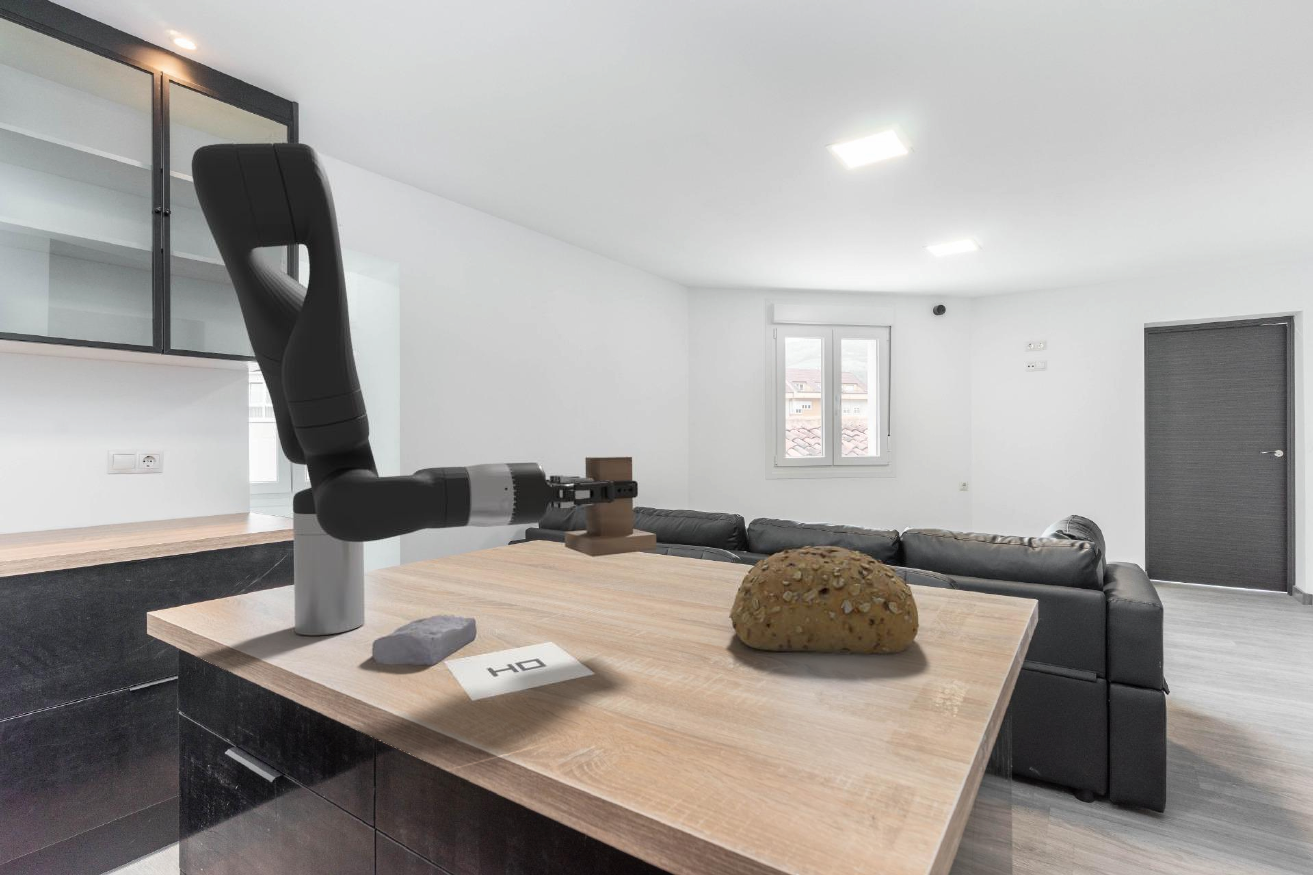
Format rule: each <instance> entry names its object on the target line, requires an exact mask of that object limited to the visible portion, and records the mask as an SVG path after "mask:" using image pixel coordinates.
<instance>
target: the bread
mask: <svg viewBox="0 0 1313 875" xmlns="http://www.w3.org/2000/svg"><path fill="white" fill-rule="evenodd" d="M911 589H912V588H911V586H910V585H908V584H907V582H906V581H905V580H904V579H903V576H901V575H900V574H897V573H896V569H895V568H894V567H892V566H891V565H887V564H884V563H883V562H882V559H875V558H873V557H872V556H870V555H867V553H862V552H861V551H858V550H856V551H855V550H852V549H847V548H843V547H839V546H835V545H833V546H831V545H821V546H820V545H816V546H813V545H807V546H803V547H802V548H797V549H796V548H793V549H789V548H786V549H785V550H783V551H781V552H776V553H774V554H772V555H771V556H768V557H766V558H765V559H764V560H763V559H759V561H758V562H757V563H755V565H754V566H753V567H751V568H750V569H749V570H748V571H747V574H745V575H744V577H743V579H742V582H741V584H740V587H739V588H738V589H737V593H736V595H735V598H734V601H733V604H732V606H731V610H730V612H729V615H728V618H730V620H731V625H732V626H731V627H732V629H734V631H735V632H736V634H737V636H738V637H739V639H740V640H741V642H743V643H744V644H745V645H747V646H749V647H751V648H754V649H757V650H761V651H762V650H763V651H765V650H766V651H779V652H780V651H783V652H785V651H786V652H787V651H789V652H820V653H821V652H823V653H833V652H834V653H841V654H849V655H858V654H859V655H860V654H861V655H862V654H867V655H869V654H870V655H891V654H896V653H899V652H901V651H902V650H903V651H904V650H905V649H906V648H908V647H909V646H910V645H911V644H912V643H913V642H914V640H915V638H916V637H917V635H918V630H919V627H920V624H919V615H918V614H919V613H918V609H917V608H918V607H917V604H916V603H917V602H916V600H915V598H914V595H913V593H912V590H911Z"/></svg>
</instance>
